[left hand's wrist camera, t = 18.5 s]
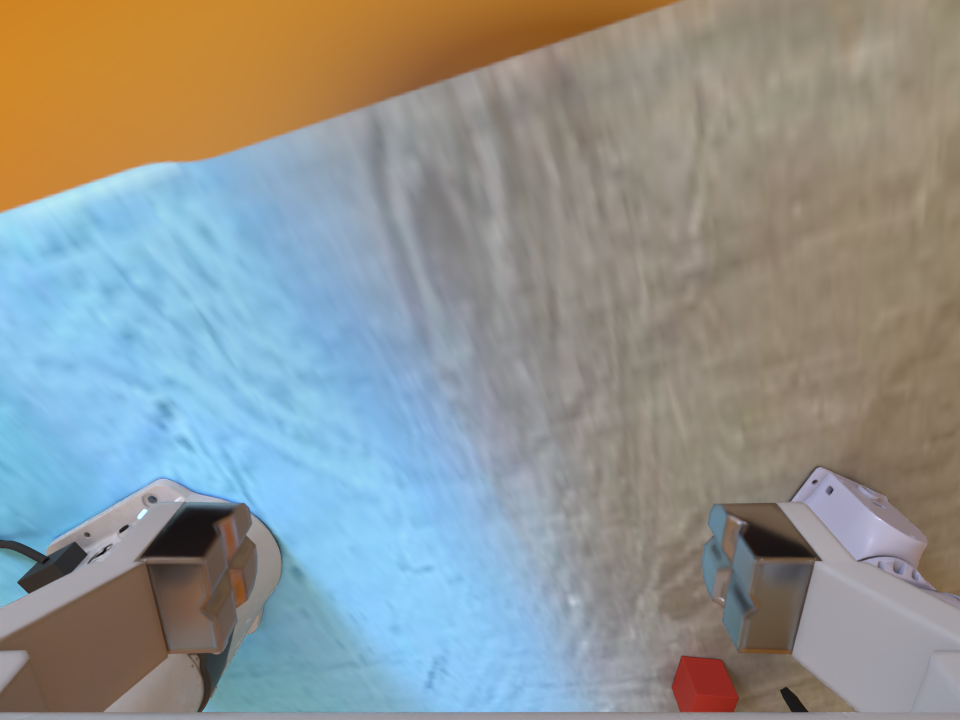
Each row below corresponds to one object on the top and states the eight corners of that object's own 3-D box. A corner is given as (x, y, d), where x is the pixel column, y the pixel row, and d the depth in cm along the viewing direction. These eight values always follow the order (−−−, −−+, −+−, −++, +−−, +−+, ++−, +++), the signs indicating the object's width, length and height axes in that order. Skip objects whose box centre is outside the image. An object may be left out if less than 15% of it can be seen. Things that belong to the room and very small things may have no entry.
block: (710, 691, 65) (726, 730, 61) (671, 687, 65) (685, 727, 61) (721, 659, 64) (739, 697, 60) (681, 655, 64) (696, 694, 59)
